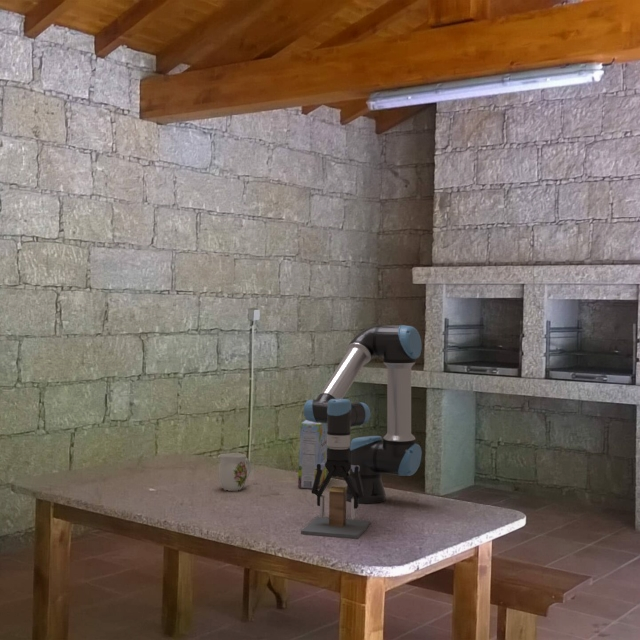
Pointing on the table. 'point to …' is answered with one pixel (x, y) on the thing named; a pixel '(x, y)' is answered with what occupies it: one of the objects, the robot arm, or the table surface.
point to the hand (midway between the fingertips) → (337, 517)
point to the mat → (336, 528)
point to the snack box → (312, 452)
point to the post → (337, 506)
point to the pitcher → (233, 471)
